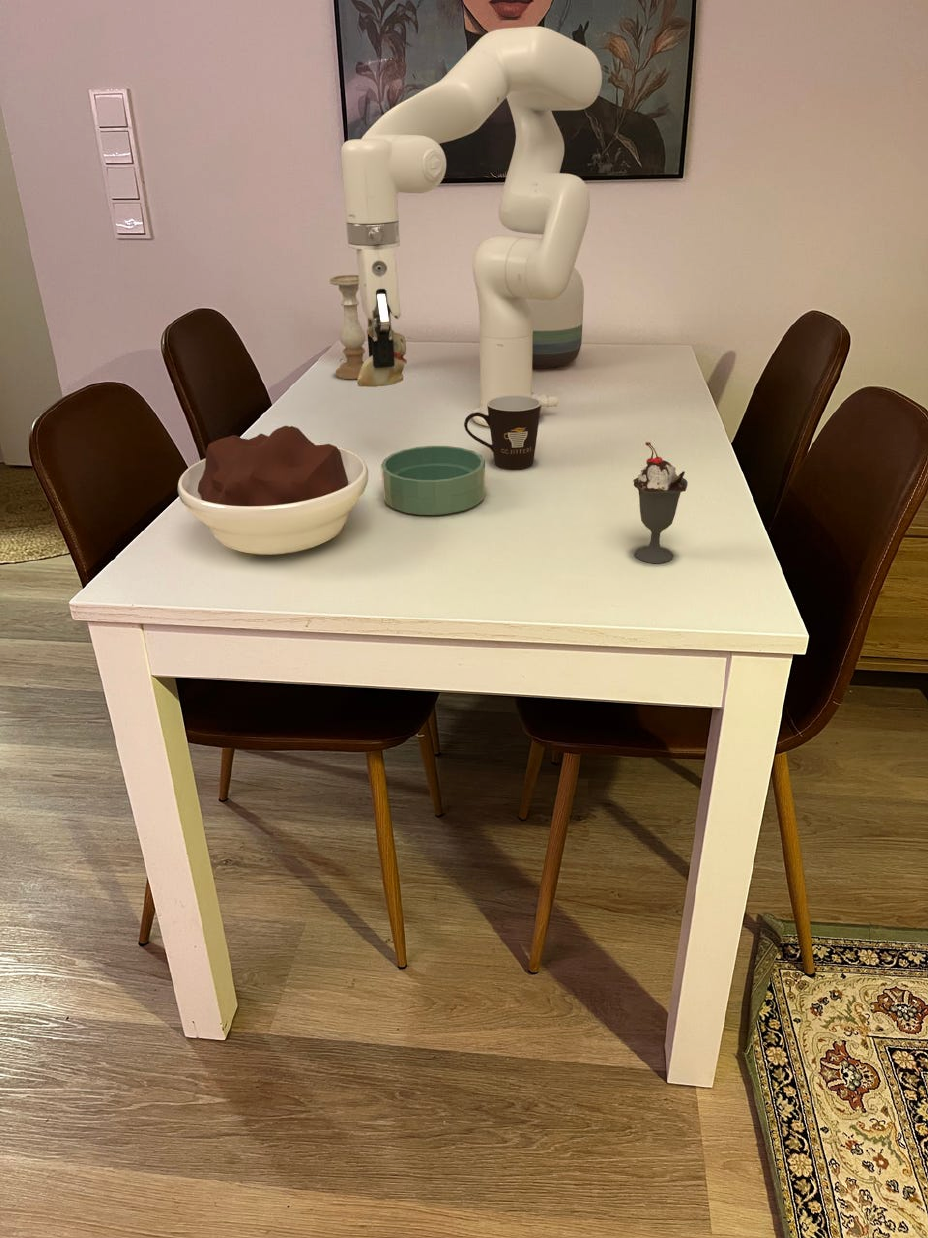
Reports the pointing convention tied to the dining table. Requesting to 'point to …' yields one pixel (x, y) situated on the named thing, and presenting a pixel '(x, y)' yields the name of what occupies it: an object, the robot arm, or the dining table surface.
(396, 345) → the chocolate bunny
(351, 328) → the candle holder
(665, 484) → the sundae
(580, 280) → the vase
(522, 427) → the coffee mug
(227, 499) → the cream round dish
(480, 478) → the bowl
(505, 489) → the dining table surface
